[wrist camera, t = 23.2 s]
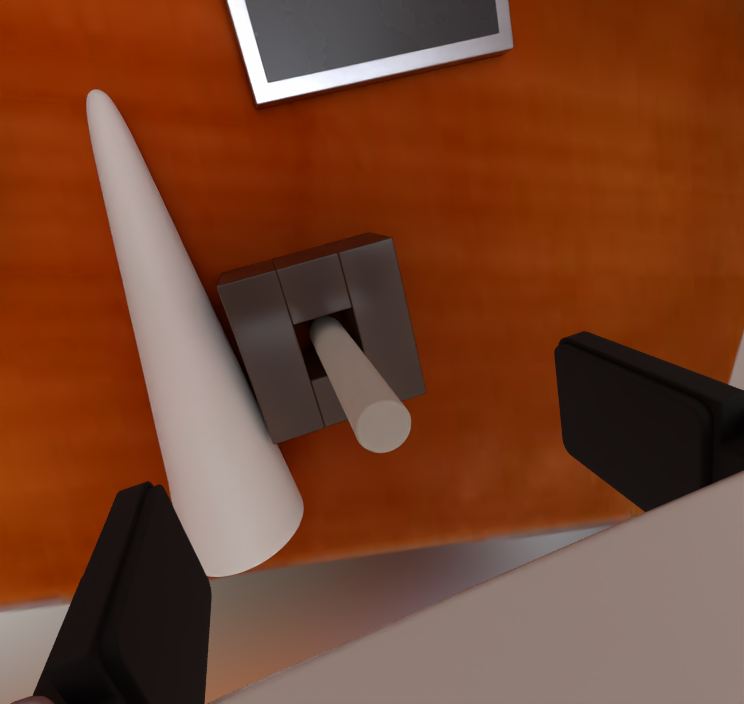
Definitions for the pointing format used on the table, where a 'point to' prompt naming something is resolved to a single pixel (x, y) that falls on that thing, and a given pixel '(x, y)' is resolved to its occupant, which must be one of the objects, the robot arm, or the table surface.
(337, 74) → the tablet
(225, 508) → the long cone
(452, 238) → the table surface
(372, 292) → the holder
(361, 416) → the beige round peg
